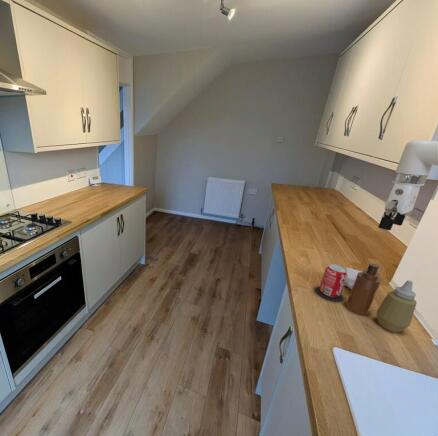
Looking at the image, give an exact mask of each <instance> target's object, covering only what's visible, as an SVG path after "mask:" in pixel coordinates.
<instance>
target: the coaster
mask: <svg viewBox="0 0 438 436" xmlns="http://www.w3.org/2000/svg"><path fill="white" fill-rule="evenodd" d="M315 293H316V294H317V295H318V296H319V297H321V298H322V299H325V300H327V301H330V302H335V303H336V302H337V303H338V302H341V301H343V299H344V297H343V295H342V294H341V295H340V296H339V297H329V296H326V295H325V294H323V293H322V292H321V291H320V286H316V288H315Z"/></svg>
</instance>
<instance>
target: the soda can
mask: <svg viewBox="0 0 438 436" xmlns="http://www.w3.org/2000/svg"><path fill="white" fill-rule="evenodd" d="M346 268H347V267H344V266H342V265H339V264H336V263H330V264H328V266H327V267H325V270H324V272H323V274H322V278H321V281H320V285H319V287H320V291H321V292H322V293H323V294H325V295H326V296H329V297H339V296H340V295H342V293H343V290H344V287H345V282H346V279H347V269H346Z"/></svg>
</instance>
